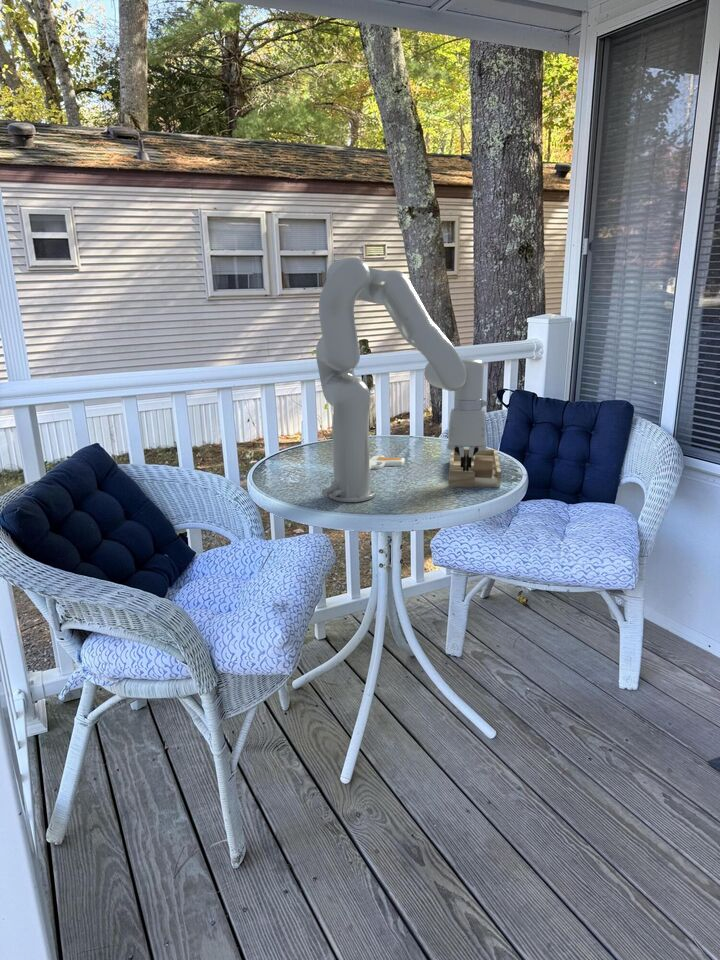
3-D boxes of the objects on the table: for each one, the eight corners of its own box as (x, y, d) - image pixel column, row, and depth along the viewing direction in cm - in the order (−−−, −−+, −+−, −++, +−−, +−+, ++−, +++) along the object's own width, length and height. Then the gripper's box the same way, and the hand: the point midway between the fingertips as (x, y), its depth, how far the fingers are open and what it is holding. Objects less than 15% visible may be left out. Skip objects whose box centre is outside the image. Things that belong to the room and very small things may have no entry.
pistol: (385, 481, 184) (349, 477, 189) (408, 463, 202) (374, 460, 206) (385, 473, 184) (349, 469, 188) (408, 456, 201) (374, 452, 205)
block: (491, 478, 174) (492, 460, 173) (473, 477, 176) (473, 459, 174) (492, 473, 179) (493, 456, 178) (474, 472, 180) (475, 455, 179)
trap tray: (500, 488, 174) (501, 473, 173) (448, 486, 176) (449, 471, 175) (496, 462, 198) (496, 449, 197) (450, 461, 201) (451, 448, 199)
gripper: (495, 403, 175) (492, 467, 181) (440, 402, 178) (439, 465, 183) (496, 407, 168) (493, 474, 174) (439, 407, 171) (438, 472, 176)
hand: (465, 469), depth 178 cm, fingers closed
